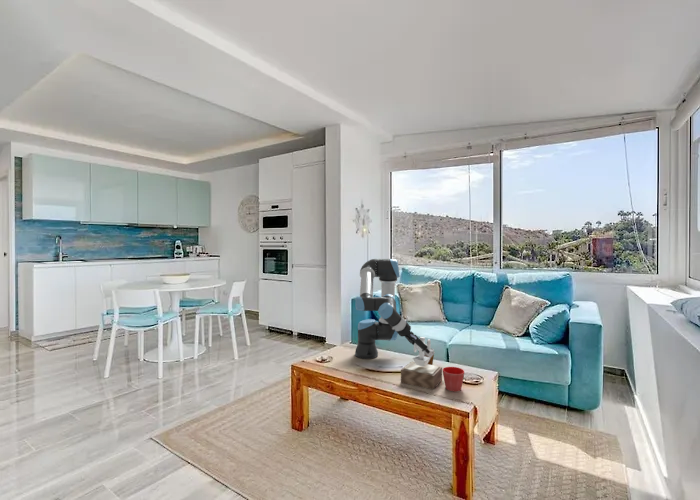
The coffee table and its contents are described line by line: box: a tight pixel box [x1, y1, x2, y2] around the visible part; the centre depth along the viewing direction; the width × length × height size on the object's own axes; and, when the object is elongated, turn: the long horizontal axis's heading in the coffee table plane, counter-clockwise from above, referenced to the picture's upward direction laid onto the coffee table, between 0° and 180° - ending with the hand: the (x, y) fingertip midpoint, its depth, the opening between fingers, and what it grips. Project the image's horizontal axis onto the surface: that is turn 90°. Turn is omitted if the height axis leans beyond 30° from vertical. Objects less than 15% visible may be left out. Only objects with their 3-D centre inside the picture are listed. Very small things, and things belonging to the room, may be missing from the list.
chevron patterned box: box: [400, 361, 443, 390], centre depth 201 cm, size 18×15×8 cm
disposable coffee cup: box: [417, 347, 436, 365], centre depth 219 cm, size 10×10×12 cm
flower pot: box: [442, 366, 465, 393], centre depth 191 cm, size 11×11×10 cm
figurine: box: [412, 336, 432, 367], centre depth 200 cm, size 7×9×15 cm
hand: (427, 353), depth 202 cm, fingers closed on figurine, 8 cm apart
